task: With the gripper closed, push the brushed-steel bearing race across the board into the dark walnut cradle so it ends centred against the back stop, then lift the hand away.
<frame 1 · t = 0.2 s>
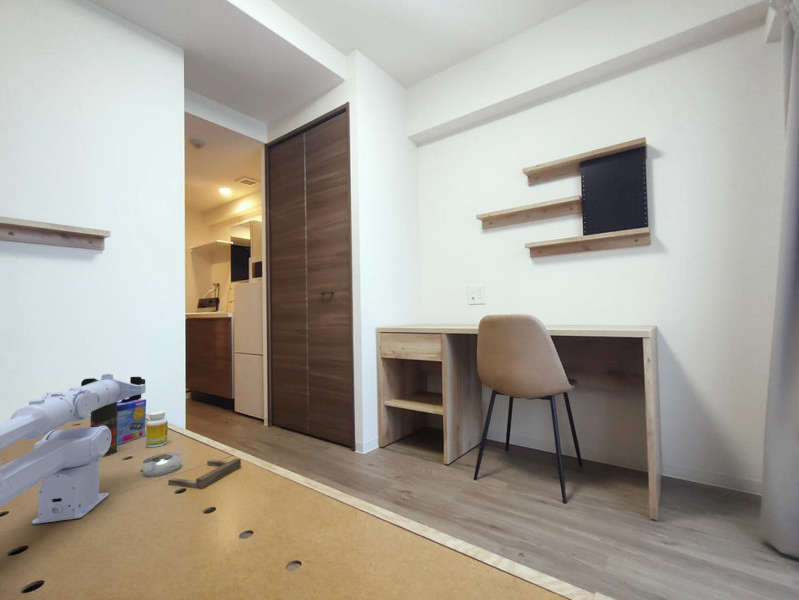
hand: (126, 383, 92), 21 cm above the table, tool horizontal, fingers open, 7 cm apart
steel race: (162, 470, 90), on the table
cradle: (200, 474, 86), on the table
supplement bottle: (156, 445, 109), on the table
deodorant: (103, 454, 103), on the table
ink cartridge box: (125, 441, 114), on the table
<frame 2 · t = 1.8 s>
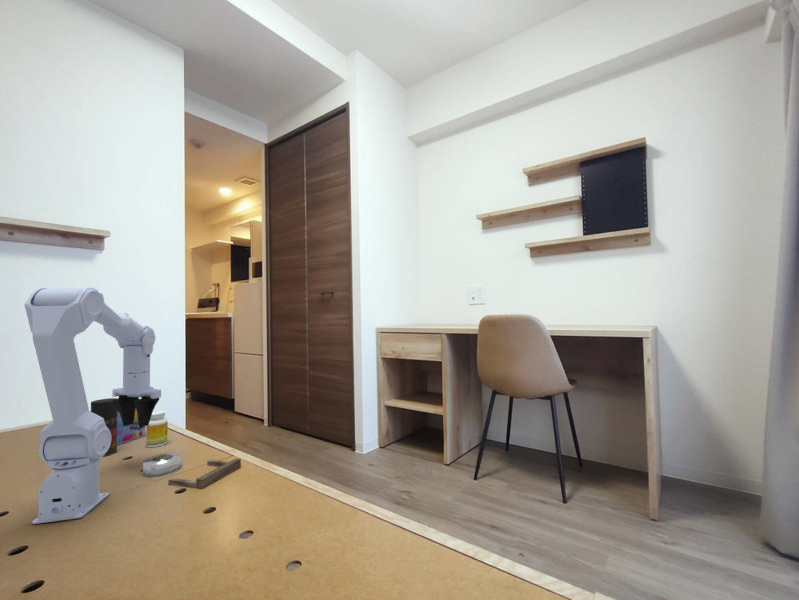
hand: (136, 425, 93), 10 cm above the table, tool pointing down, fingers open, 5 cm apart
nothing on the table moved.
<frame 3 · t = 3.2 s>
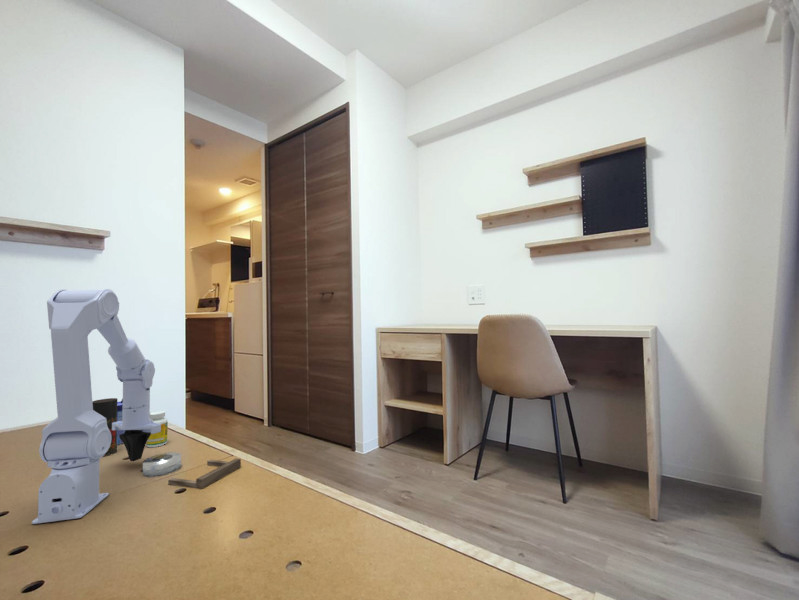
hand: (135, 459, 93), 2 cm above the table, tool pointing down, fingers closed
nothing on the table moved.
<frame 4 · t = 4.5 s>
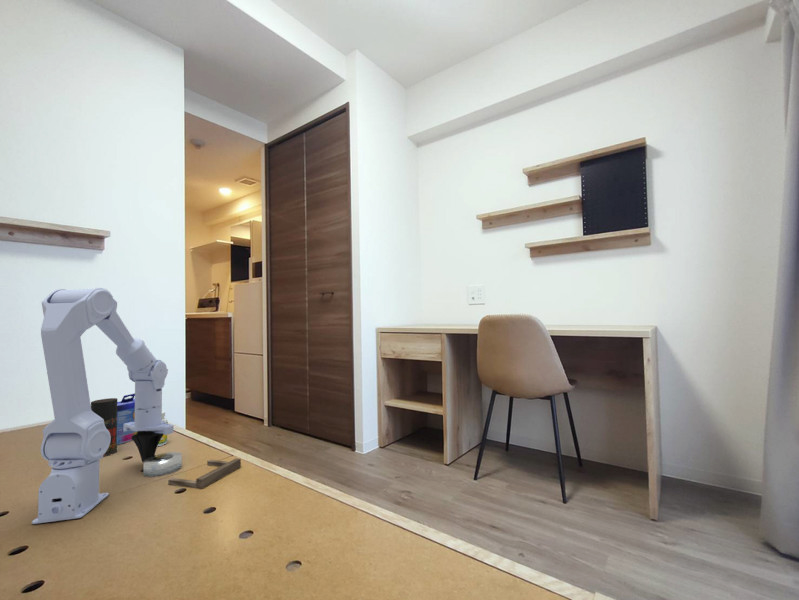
hand: (147, 461, 91), 2 cm above the table, tool pointing down, fingers closed
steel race: (162, 470, 90), on the table, touching gripper
everything else where it was.
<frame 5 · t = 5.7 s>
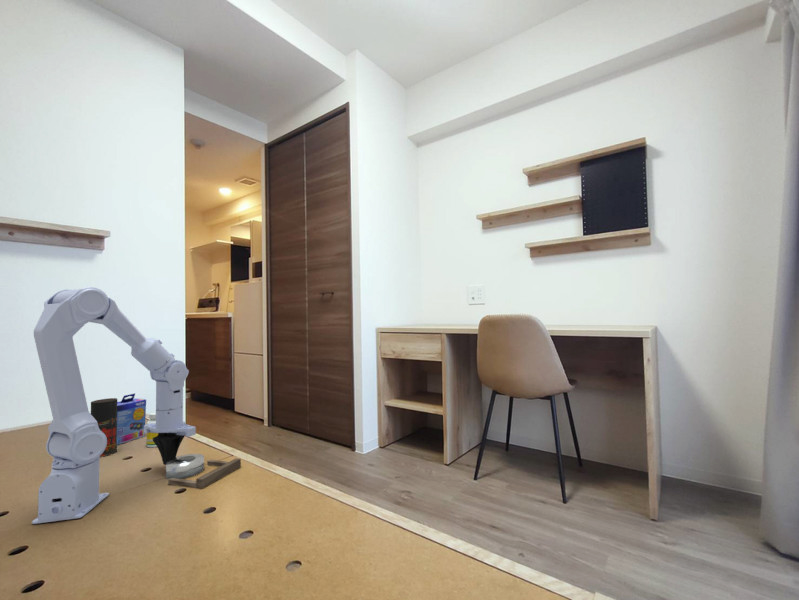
hand: (169, 463, 89), 2 cm above the table, tool pointing down, fingers closed
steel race: (185, 472, 88), on the table, touching gripper
everything else where it was.
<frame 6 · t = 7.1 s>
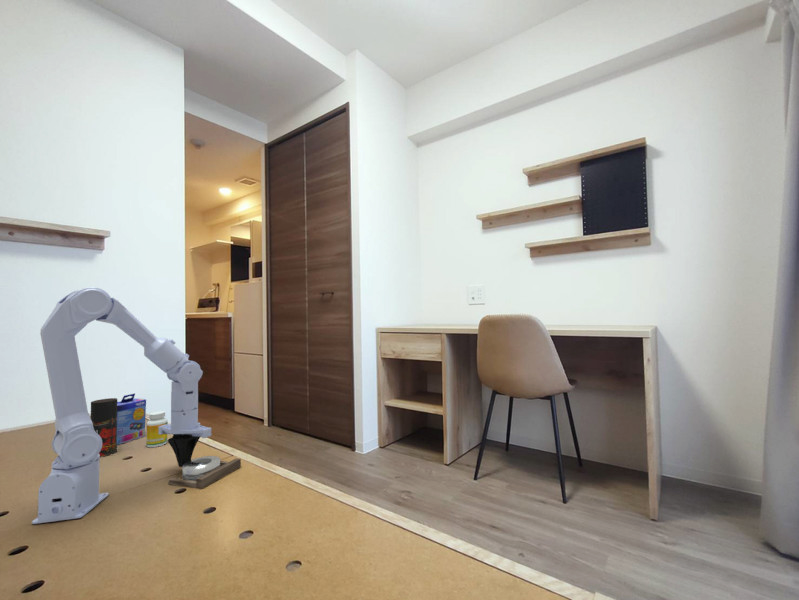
hand: (184, 465, 88), 2 cm above the table, tool pointing down, fingers closed
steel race: (201, 474, 87), on the table, touching gripper
everything else where it was.
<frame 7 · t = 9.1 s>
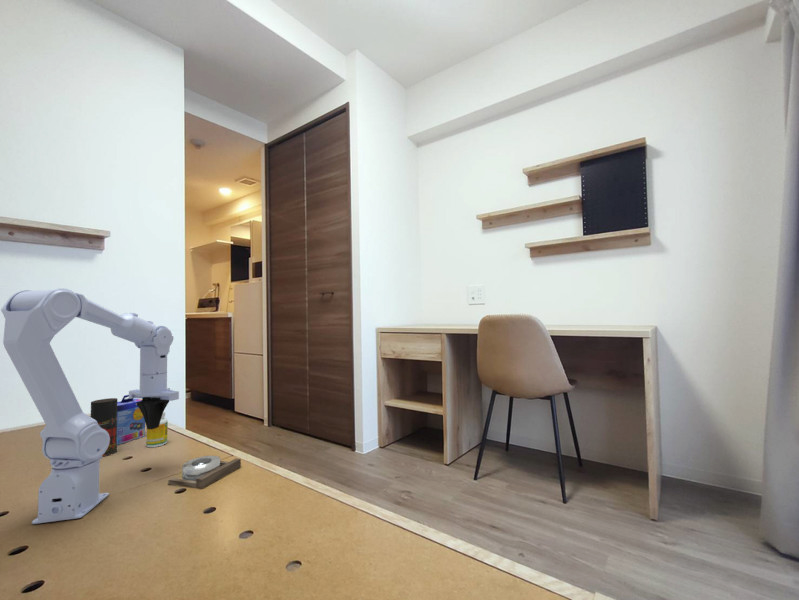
hand: (153, 428, 90), 10 cm above the table, tool pointing down, fingers closed
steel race: (201, 474, 87), on the table
everything else where it was.
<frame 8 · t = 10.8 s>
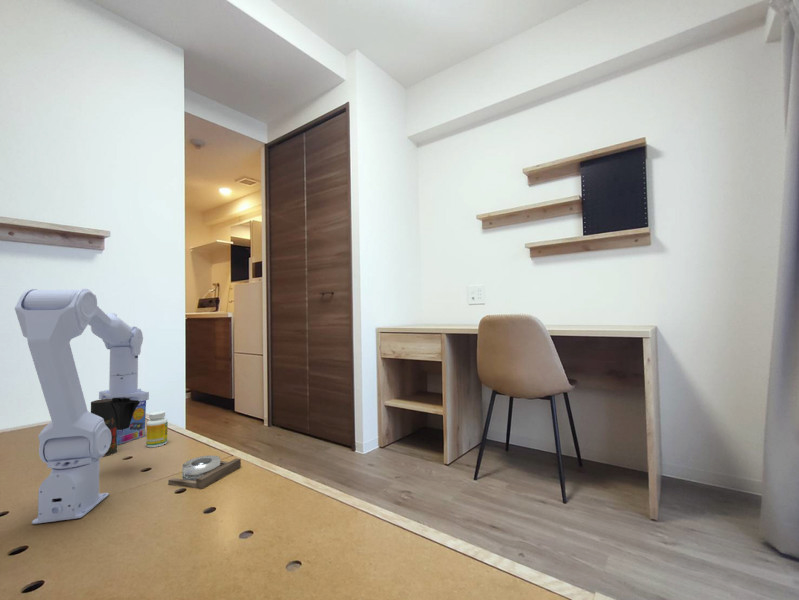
hand: (123, 428, 90), 10 cm above the table, tool pointing down, fingers closed
nothing on the table moved.
at the end: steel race 0.4 cm off-centre on the cradle, point 0.0 cm above the cradle's base; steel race moved 12.0 cm from its start; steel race tilted 1° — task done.
